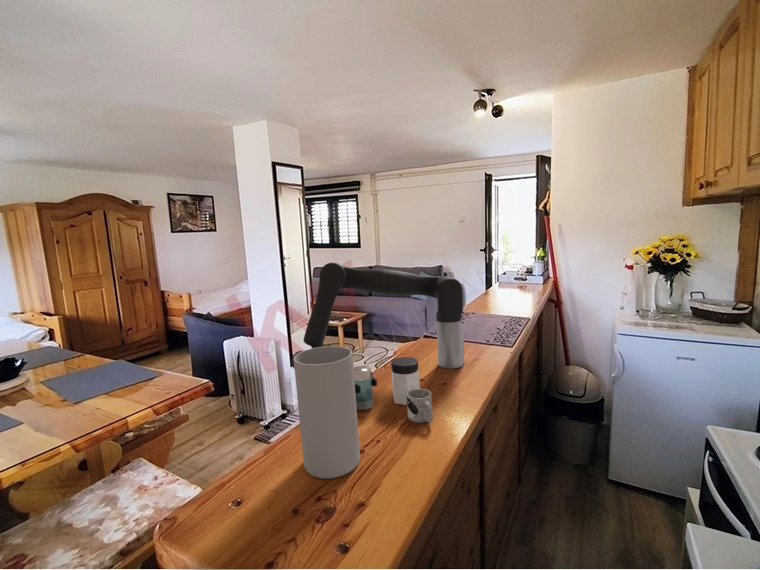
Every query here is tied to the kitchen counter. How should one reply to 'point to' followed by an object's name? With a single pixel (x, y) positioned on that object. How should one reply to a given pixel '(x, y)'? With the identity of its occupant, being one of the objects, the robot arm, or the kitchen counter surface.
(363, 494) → the kitchen counter surface
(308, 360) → the cylinder vase
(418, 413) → the mug
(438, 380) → the kitchen counter surface
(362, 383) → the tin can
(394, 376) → the jar
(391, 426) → the kitchen counter surface
